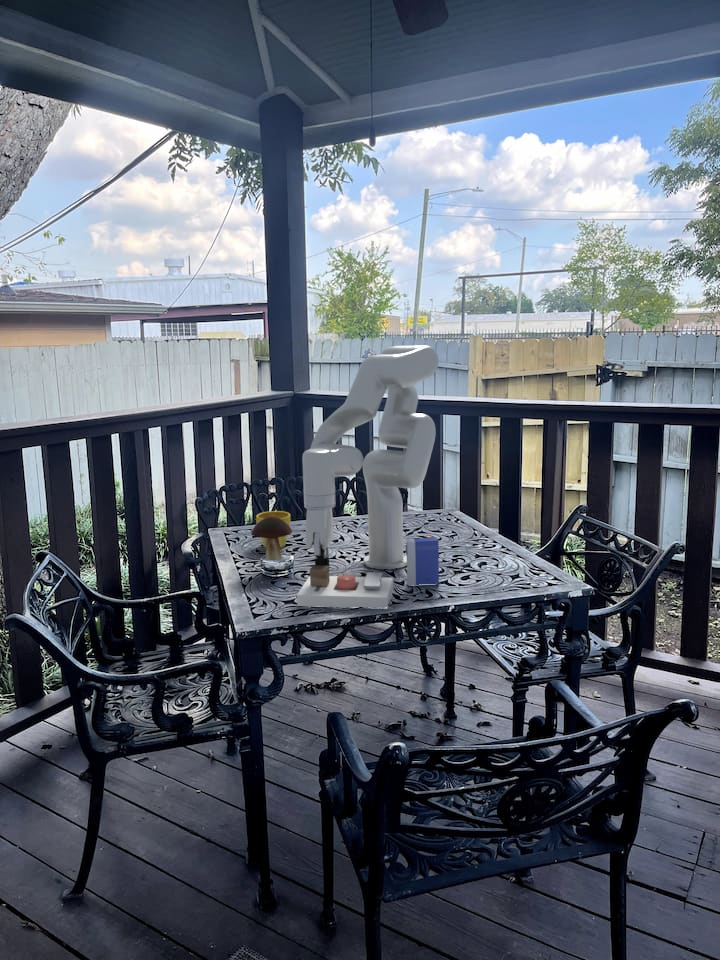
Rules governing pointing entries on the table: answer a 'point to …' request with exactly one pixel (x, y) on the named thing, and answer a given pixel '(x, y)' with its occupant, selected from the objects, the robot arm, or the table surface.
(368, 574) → the grey rocker
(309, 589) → the control panel
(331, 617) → the table surface
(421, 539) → the walkman
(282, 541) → the plant pot
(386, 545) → the robot arm
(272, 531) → the decorative mushroom
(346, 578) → the red button
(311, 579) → the walnut slider
